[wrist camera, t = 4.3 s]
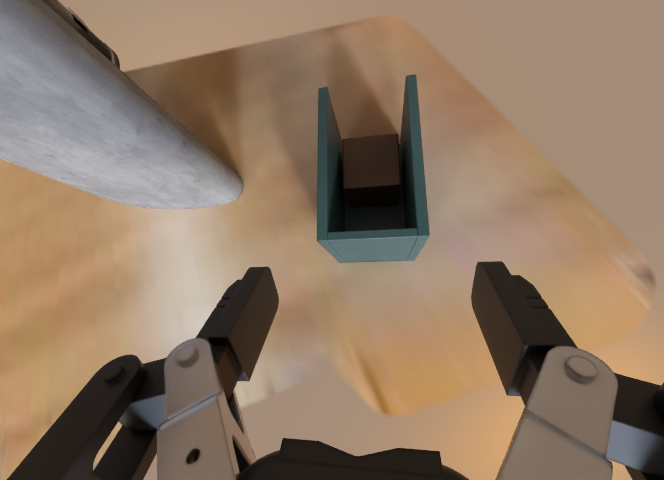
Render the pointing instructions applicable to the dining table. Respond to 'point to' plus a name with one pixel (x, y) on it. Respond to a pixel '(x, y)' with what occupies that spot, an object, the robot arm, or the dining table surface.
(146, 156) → the hip flask
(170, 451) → the robot arm
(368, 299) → the dining table surface
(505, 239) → the dining table surface
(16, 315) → the dining table surface
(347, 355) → the dining table surface
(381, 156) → the walnut block
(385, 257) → the teal open box
